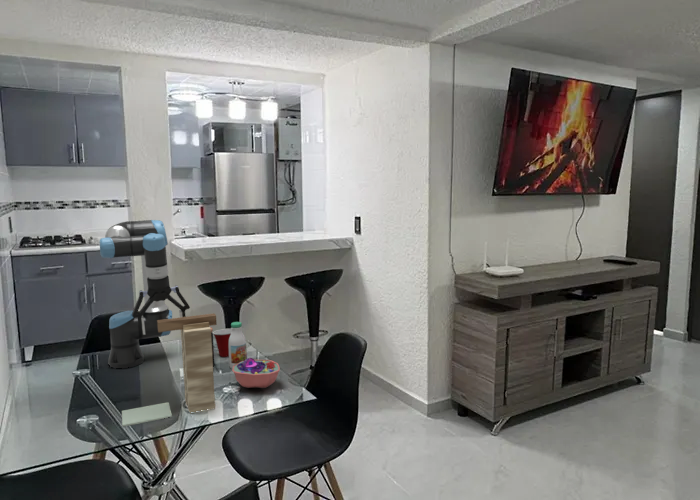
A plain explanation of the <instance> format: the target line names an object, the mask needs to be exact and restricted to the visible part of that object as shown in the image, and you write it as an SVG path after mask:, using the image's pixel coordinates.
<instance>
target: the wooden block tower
mask: <svg viewBox="0 0 700 500" xmlns="http://www.w3.org/2000/svg"><path fill="white" fill-rule="evenodd" d="M210 327H211V326H209V322H203V323H196V324H188V325H183V329H181V330H180V339H181V342H180V343H181V355H182V371H183V384H184V386H183V387H184V388H183V389H184V399H185V403H186V407H187V410H188V413H189V412H190V413H189V414H192V413H191V412H195V413H197V412H196V411H200V412H202V411H201V410H205V411H208V410H207V409H210V410H215V409H216V397H215V396H216V395H215V382H214V381H215V380H214V368H213V359H212V341H211V328H210Z"/></svg>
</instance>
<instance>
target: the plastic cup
mask: <svg viewBox="0 0 700 500" xmlns="http://www.w3.org/2000/svg"><path fill="white" fill-rule="evenodd" d="M231 332H232V329H231V328H222V329H217V330H214V331H212V333H213V337H214V339H215V343H216V347H217V351H218V353H219V356H220V357H222V358H227V357H228V358H229V337H230V335H231Z"/></svg>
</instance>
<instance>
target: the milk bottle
mask: <svg viewBox="0 0 700 500" xmlns="http://www.w3.org/2000/svg"><path fill="white" fill-rule="evenodd" d="M242 325H243V323H242V322H241V321H233V322H231V324H230V329H232V332H231V335H230V337H229V356H228V363H229V368H230V369H231V370H232V369H233V366H234V365H236V364H237V363H239V362H241V361H245V360H246V359H247V358H248V356H247V355H248V352H247V339H246V336H245V335H244V333H243V330H242V328H243V326H242Z"/></svg>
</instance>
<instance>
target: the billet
mask: <svg viewBox="0 0 700 500" xmlns="http://www.w3.org/2000/svg"><path fill="white" fill-rule="evenodd" d="M203 322H209V327H211V326H216V325H217V314H216V313H207V314H206V313H205V314H197V315H189V316H186V317H180V316H179V317H172V319H163V320H157V326H158V332H166V331H171V332H172V331H181V329H183V325H188V324H196V323H203Z"/></svg>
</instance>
